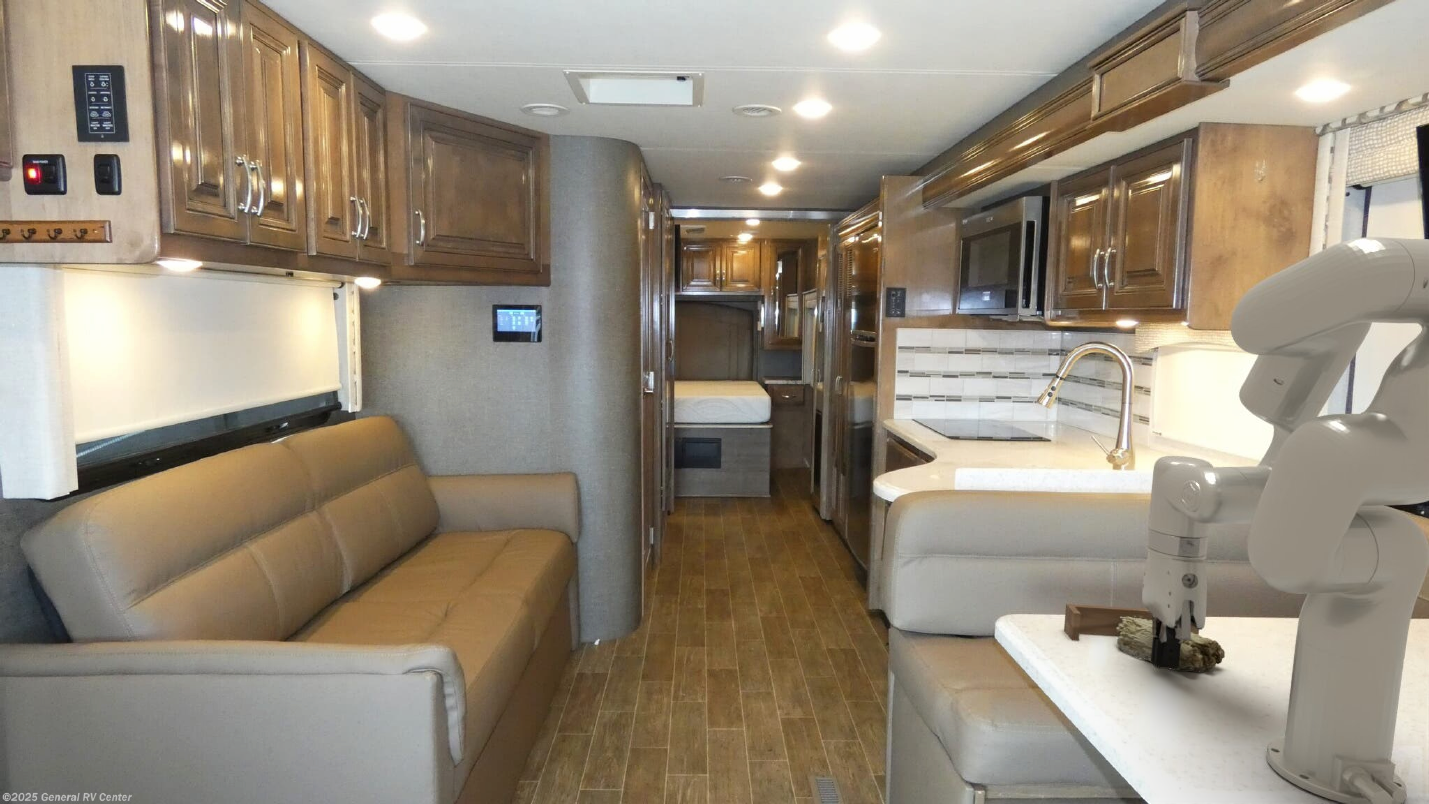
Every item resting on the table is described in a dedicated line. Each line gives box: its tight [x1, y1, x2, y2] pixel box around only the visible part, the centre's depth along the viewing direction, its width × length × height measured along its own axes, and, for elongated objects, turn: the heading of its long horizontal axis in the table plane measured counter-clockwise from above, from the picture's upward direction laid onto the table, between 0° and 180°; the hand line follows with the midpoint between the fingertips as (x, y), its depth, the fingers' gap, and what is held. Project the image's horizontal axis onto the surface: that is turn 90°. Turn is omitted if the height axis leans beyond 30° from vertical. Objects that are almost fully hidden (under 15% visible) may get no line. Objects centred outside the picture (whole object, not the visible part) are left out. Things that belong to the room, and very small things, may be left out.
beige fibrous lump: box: [1116, 616, 1226, 673], centre depth 124 cm, size 14×10×5 cm, turn 34°
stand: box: [1063, 603, 1200, 641], centre depth 130 cm, size 4×19×4 cm, turn 84°
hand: (1164, 665), depth 118 cm, fingers closed
